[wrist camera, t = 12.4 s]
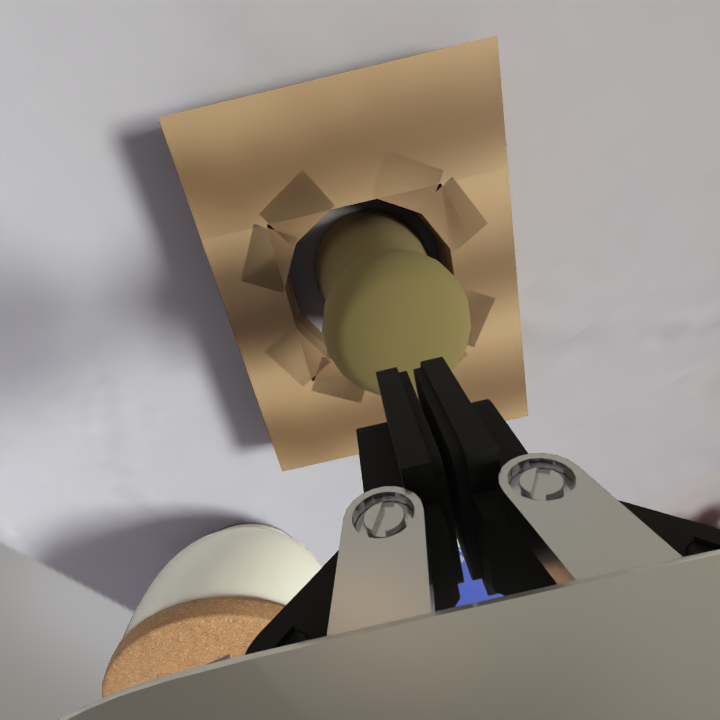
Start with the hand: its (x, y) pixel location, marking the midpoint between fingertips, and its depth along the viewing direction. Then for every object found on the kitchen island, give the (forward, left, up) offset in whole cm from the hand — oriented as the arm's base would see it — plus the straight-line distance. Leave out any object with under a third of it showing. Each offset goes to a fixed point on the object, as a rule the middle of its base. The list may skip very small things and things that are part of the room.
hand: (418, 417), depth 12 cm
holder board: (0, 0, -15) cm, 15 cm away
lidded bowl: (+18, -12, -15) cm, 26 cm away
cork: (0, 0, -15) cm, 15 cm away
